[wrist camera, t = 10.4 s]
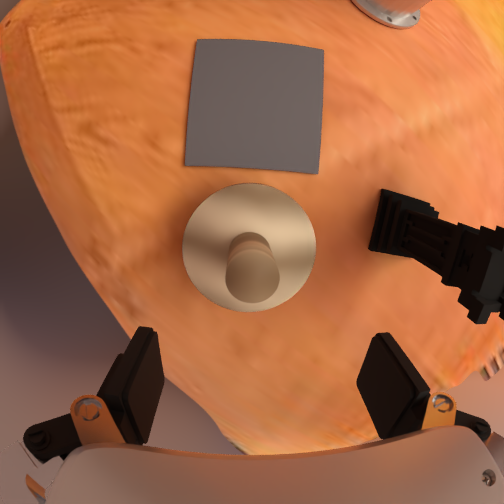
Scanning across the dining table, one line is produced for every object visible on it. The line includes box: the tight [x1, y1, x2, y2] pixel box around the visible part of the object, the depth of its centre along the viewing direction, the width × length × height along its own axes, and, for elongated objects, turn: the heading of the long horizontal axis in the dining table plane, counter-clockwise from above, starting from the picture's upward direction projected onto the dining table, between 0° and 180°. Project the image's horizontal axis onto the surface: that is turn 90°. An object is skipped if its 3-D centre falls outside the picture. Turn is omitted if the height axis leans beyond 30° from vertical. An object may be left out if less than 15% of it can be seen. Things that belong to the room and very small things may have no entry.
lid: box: [182, 183, 316, 312], centre depth 24 cm, size 13×13×8 cm
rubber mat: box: [185, 39, 324, 174], centre depth 27 cm, size 16×15×1 cm
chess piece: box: [368, 189, 504, 324], centre depth 23 cm, size 8×8×20 cm
